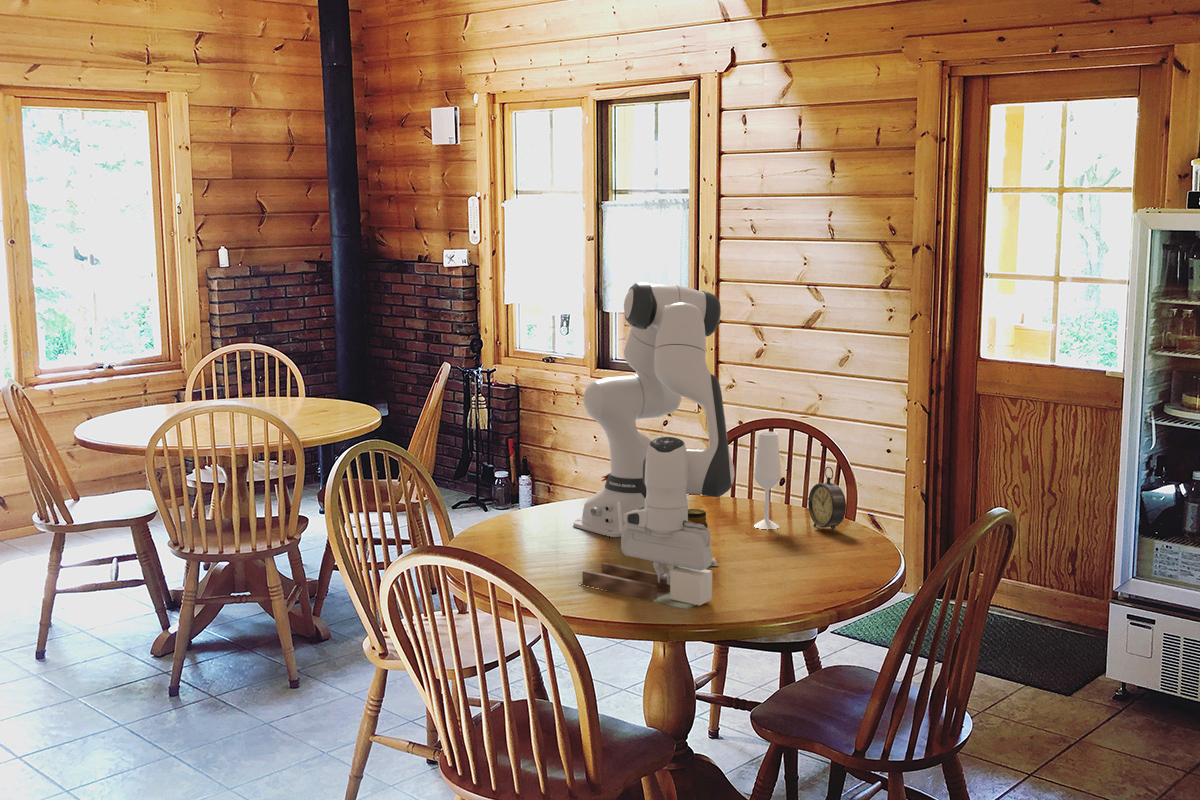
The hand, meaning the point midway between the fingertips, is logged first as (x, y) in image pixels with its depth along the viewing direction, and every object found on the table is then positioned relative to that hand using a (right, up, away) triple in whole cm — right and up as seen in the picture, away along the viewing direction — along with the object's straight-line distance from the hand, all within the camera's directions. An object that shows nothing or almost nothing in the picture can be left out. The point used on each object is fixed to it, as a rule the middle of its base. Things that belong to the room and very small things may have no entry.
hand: (665, 583), depth 242 cm
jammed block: (+5, -3, -3) cm, 6 cm away
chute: (-4, -2, +4) cm, 6 cm away
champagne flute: (+29, +5, +56) cm, 63 cm away
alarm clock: (+43, +5, +53) cm, 68 cm away
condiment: (+9, +1, +25) cm, 26 cm away
